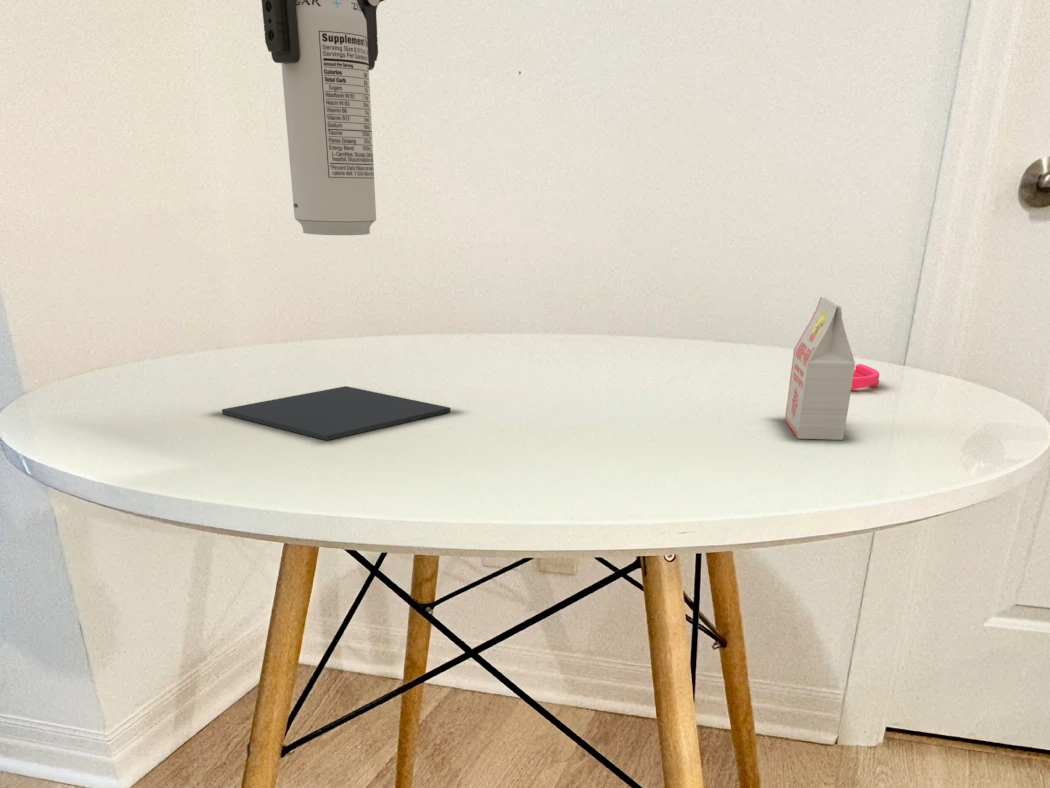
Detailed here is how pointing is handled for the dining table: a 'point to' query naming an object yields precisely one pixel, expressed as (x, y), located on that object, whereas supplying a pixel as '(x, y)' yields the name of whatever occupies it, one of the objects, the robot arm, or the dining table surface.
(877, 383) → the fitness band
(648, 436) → the dining table surface
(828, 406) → the milk carton
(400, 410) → the slate mat
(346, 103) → the energy drink can
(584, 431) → the dining table surface
